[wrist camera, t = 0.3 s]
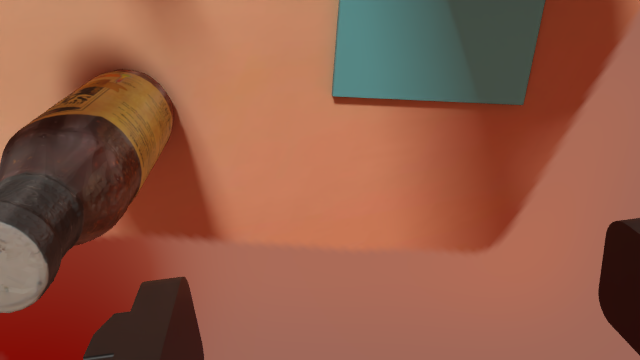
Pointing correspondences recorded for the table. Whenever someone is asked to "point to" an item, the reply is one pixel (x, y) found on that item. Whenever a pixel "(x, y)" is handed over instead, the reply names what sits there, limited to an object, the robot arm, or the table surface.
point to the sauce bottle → (75, 176)
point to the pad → (436, 49)
